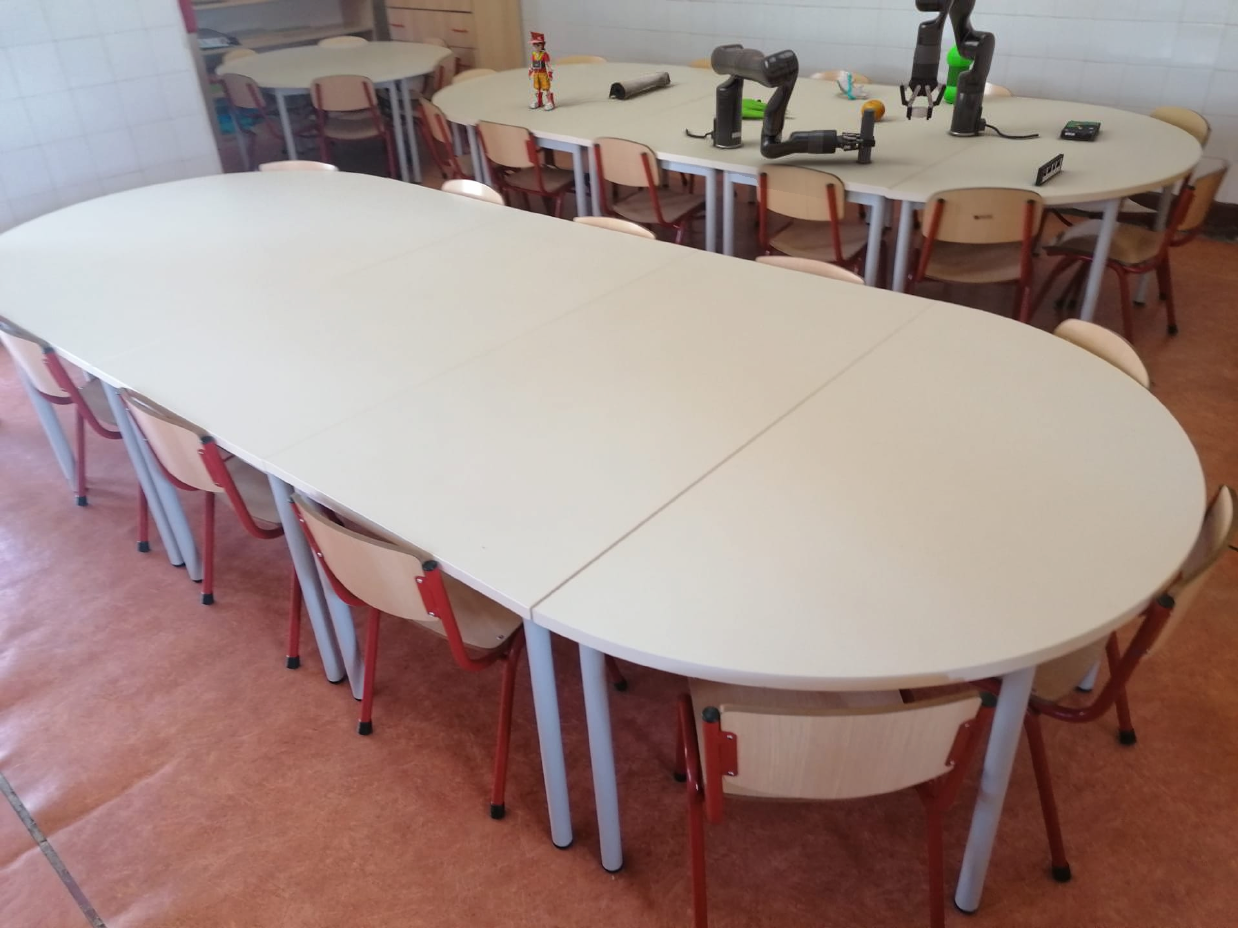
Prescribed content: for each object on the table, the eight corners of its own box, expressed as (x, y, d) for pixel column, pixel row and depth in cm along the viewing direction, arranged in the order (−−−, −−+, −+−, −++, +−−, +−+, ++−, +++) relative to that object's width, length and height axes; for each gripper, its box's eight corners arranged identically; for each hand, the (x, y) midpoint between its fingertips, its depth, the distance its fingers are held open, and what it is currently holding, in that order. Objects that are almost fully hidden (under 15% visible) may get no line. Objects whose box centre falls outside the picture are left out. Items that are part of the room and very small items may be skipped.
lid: (907, 115, 276) (908, 107, 275) (919, 113, 278) (920, 105, 277) (918, 118, 273) (919, 111, 271) (930, 116, 274) (931, 108, 273)
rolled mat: (651, 76, 408) (662, 61, 399) (662, 93, 408) (674, 79, 400) (605, 92, 391) (616, 77, 383) (617, 110, 391) (628, 95, 383)
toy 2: (706, 117, 350) (777, 129, 338) (708, 103, 348) (779, 115, 335) (737, 106, 371) (804, 117, 358) (738, 93, 368) (807, 104, 355)
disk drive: (1092, 142, 302) (1099, 130, 312) (1094, 133, 301) (1101, 122, 311) (1059, 139, 307) (1067, 127, 317) (1061, 130, 305) (1069, 119, 316)
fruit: (856, 112, 335) (869, 93, 332) (858, 116, 343) (871, 96, 340) (874, 125, 334) (888, 105, 331) (876, 128, 342) (889, 109, 339)
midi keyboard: (1039, 185, 269) (1043, 168, 266) (1035, 184, 270) (1038, 168, 267) (1060, 170, 279) (1064, 154, 277) (1056, 169, 280) (1060, 153, 277)
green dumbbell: (973, 101, 354) (984, 32, 339) (955, 106, 349) (966, 36, 335) (952, 97, 361) (962, 29, 346) (934, 102, 356) (944, 33, 342)
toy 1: (525, 109, 381) (517, 32, 364) (534, 104, 388) (527, 28, 371) (550, 110, 377) (543, 32, 360) (559, 105, 384) (553, 28, 367)
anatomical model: (832, 71, 373) (856, 64, 372) (834, 96, 379) (858, 90, 378) (842, 79, 360) (867, 72, 360) (845, 105, 366) (869, 98, 366)
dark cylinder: (872, 162, 297) (878, 110, 288) (863, 164, 295) (868, 112, 286) (864, 159, 300) (869, 108, 291) (854, 161, 299) (859, 110, 289)
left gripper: (823, 136, 288) (877, 135, 286) (821, 124, 300) (874, 123, 297) (821, 160, 293) (875, 159, 290) (819, 147, 304) (871, 146, 302)
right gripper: (951, 57, 267) (942, 117, 277) (901, 57, 271) (894, 116, 281) (952, 62, 262) (943, 123, 271) (901, 62, 265) (894, 122, 275)
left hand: (874, 141), depth 294 cm, fingers closed on dark cylinder, 4 cm apart
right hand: (918, 119), depth 276 cm, fingers closed on lid, 4 cm apart
